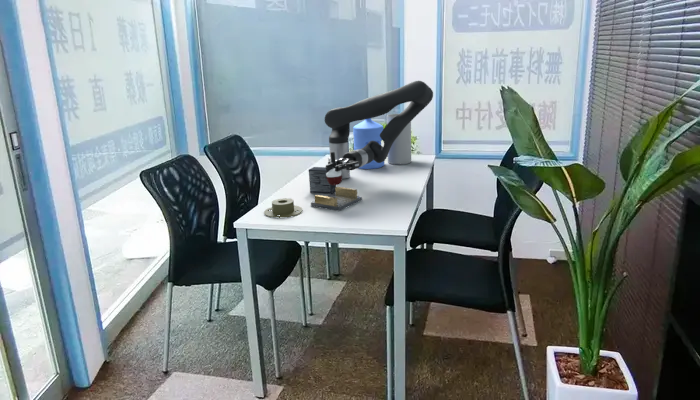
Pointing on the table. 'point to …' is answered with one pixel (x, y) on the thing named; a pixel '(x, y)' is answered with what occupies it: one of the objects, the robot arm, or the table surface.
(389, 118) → the cylinder vase
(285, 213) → the flange
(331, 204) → the plate
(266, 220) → the table surface
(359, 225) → the table surface
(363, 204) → the table surface
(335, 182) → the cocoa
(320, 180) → the small box
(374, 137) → the water jug
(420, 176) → the table surface
